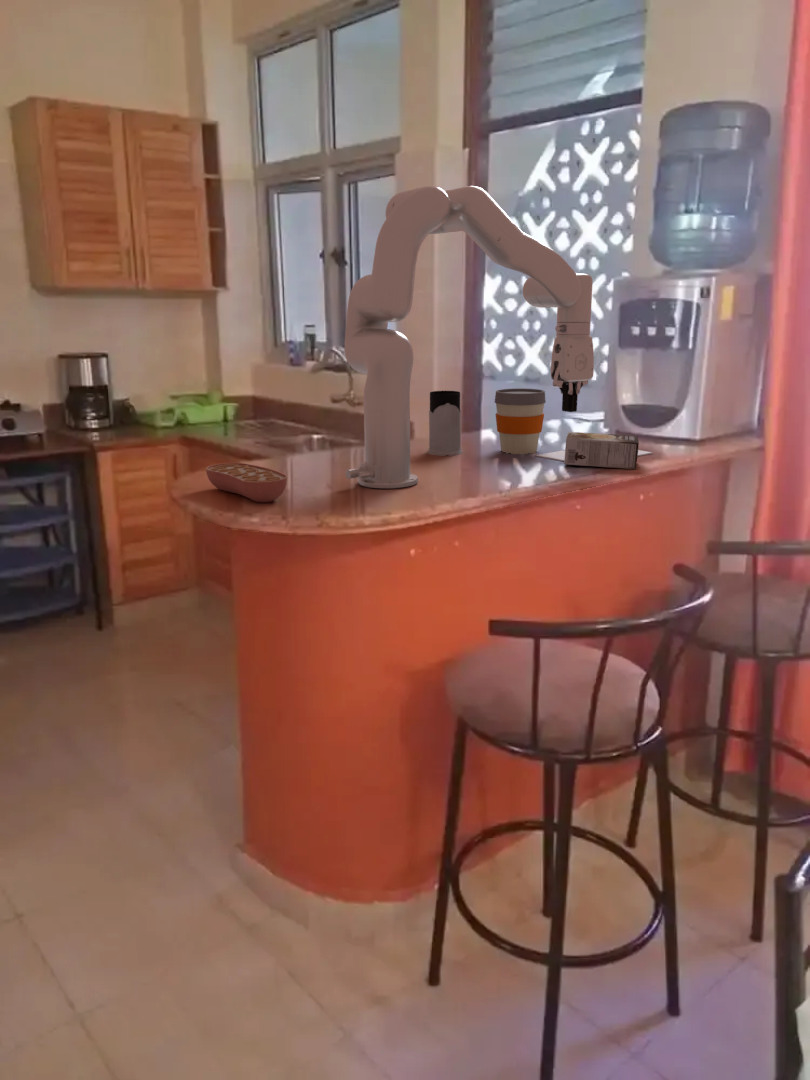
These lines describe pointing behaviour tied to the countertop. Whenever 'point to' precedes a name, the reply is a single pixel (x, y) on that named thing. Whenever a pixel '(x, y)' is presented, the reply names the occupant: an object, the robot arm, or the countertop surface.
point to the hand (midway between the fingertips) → (569, 411)
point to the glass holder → (444, 423)
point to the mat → (561, 455)
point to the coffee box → (601, 450)
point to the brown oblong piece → (248, 480)
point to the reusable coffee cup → (519, 419)
